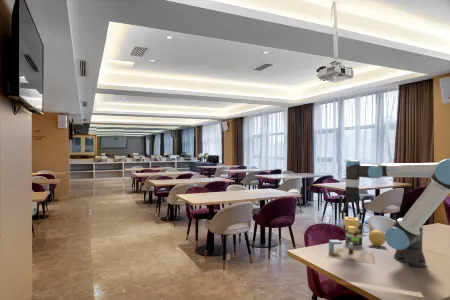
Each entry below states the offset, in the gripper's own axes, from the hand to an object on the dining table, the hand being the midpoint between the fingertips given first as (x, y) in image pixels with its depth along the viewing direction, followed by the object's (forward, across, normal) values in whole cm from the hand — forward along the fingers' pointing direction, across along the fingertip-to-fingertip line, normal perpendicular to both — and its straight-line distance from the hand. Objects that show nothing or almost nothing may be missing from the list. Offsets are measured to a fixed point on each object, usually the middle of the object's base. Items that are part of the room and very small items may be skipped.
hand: (351, 225), depth 182 cm
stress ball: (+17, -16, -25) cm, 35 cm away
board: (+17, 0, +6) cm, 18 cm away
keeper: (+16, +9, +4) cm, 19 cm away
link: (+2, 0, +3) cm, 4 cm away
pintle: (+16, 0, 0) cm, 16 cm away
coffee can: (+18, -2, -21) cm, 27 cm away
